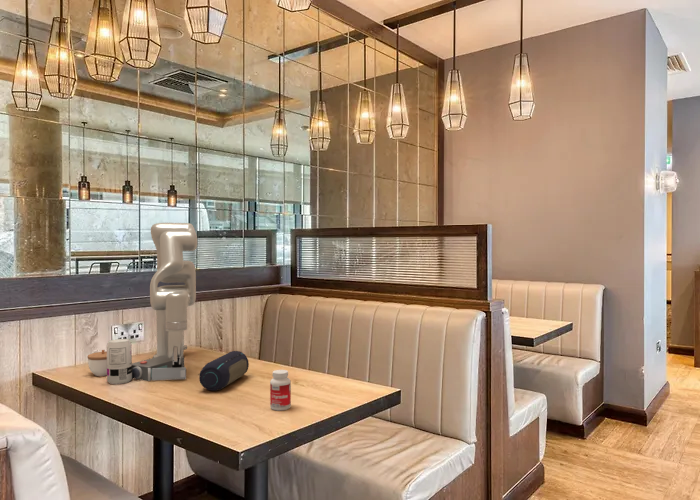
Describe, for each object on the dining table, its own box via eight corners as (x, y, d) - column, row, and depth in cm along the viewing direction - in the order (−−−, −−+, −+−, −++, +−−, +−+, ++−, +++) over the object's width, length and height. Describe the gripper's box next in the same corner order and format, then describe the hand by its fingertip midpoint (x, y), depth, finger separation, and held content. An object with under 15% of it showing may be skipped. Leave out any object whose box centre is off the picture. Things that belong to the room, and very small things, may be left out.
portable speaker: (223, 394, 170) (223, 364, 170) (195, 393, 172) (195, 363, 172) (252, 375, 195) (252, 349, 195) (227, 374, 197) (227, 348, 197)
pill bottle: (268, 411, 153) (268, 374, 153) (272, 404, 159) (271, 369, 159) (289, 411, 153) (289, 374, 152) (292, 404, 159) (291, 368, 159)
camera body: (164, 367, 208) (164, 353, 208) (186, 370, 203) (186, 356, 203) (125, 378, 191) (124, 363, 191) (147, 382, 186) (147, 366, 186)
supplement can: (102, 383, 185) (101, 341, 185) (121, 377, 192) (121, 337, 192) (117, 385, 181) (116, 343, 181) (136, 380, 189) (136, 339, 188)
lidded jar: (124, 370, 203) (123, 347, 203) (108, 378, 192) (108, 353, 192) (98, 370, 204) (98, 346, 204) (81, 377, 193) (81, 352, 193)
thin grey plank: (186, 378, 189) (185, 367, 189) (185, 379, 188) (185, 368, 188) (152, 379, 187) (152, 368, 187) (151, 380, 186) (151, 369, 186)
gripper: (168, 322, 197) (168, 370, 197) (163, 329, 182) (164, 381, 183) (188, 322, 198) (189, 369, 199) (185, 328, 184) (186, 379, 184)
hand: (177, 374), depth 191 cm, fingers closed
